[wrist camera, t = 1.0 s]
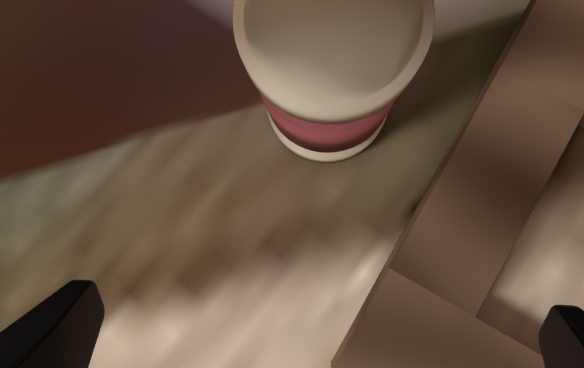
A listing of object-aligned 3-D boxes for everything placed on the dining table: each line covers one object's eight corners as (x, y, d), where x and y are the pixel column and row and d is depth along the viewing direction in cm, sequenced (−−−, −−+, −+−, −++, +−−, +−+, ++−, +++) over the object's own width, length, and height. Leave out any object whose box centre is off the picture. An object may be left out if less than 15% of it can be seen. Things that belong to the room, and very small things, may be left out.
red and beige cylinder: (404, 135, 21) (468, 66, 12) (295, 181, 21) (277, 145, 12) (357, 31, 21) (385, -109, 13) (251, 76, 22) (204, -32, 13)
